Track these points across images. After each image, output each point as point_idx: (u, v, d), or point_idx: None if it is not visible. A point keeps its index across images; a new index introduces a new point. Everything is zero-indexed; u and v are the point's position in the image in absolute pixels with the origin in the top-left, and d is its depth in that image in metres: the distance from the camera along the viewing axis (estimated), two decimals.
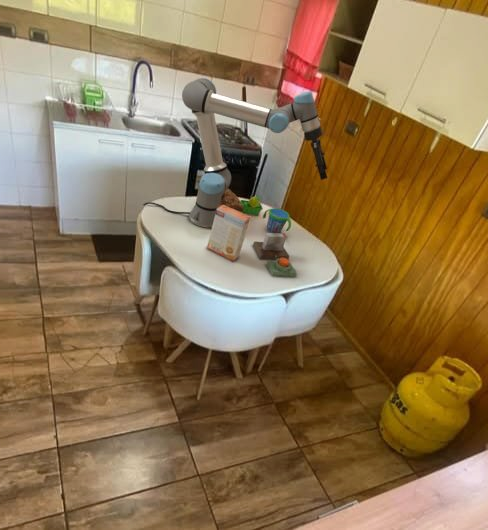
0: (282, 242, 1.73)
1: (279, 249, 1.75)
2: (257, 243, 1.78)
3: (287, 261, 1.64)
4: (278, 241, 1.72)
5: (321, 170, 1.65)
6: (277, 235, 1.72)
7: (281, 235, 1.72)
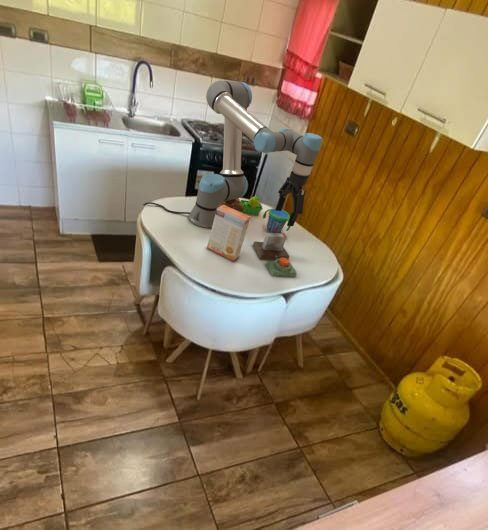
0: (282, 242, 1.73)
1: (279, 249, 1.75)
2: (257, 243, 1.78)
3: (287, 261, 1.64)
4: (278, 241, 1.72)
5: (294, 218, 1.58)
6: (277, 235, 1.72)
7: (281, 235, 1.72)
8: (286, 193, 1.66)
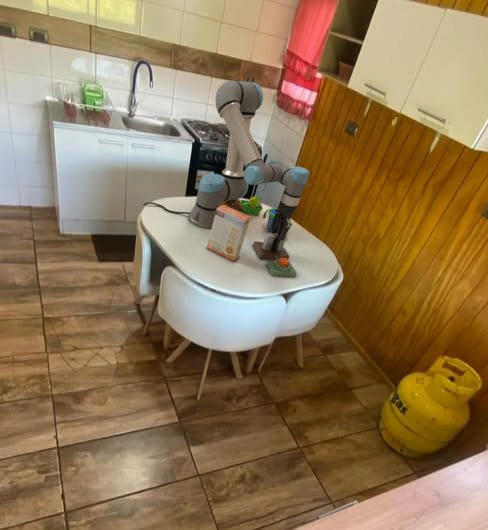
0: (282, 242, 1.73)
1: (279, 249, 1.75)
2: (257, 243, 1.78)
3: (287, 261, 1.64)
4: None
5: (277, 244, 1.71)
6: None
7: None
8: (277, 226, 1.71)
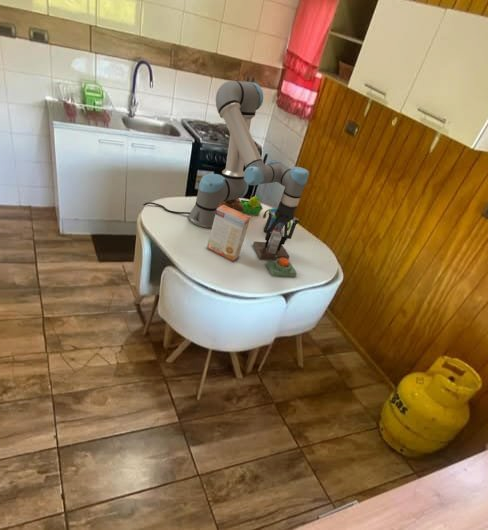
0: None
1: None
2: (257, 243, 1.78)
3: (287, 261, 1.64)
4: None
5: (284, 242, 1.73)
6: (277, 235, 1.72)
7: (276, 232, 1.74)
8: None
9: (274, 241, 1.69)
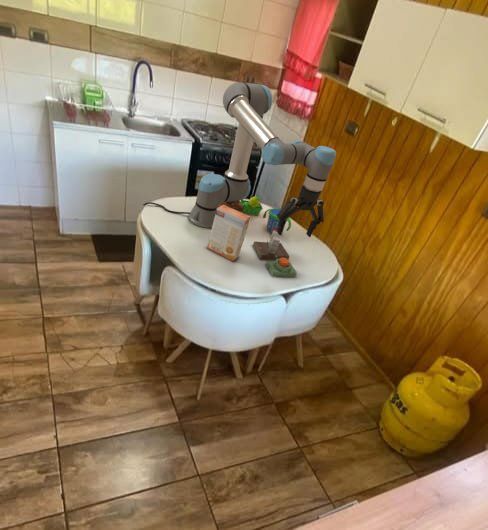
0: None
1: None
2: (257, 243, 1.78)
3: (287, 261, 1.64)
4: None
5: None
6: (277, 235, 1.72)
7: (276, 232, 1.74)
8: None
9: (274, 241, 1.69)
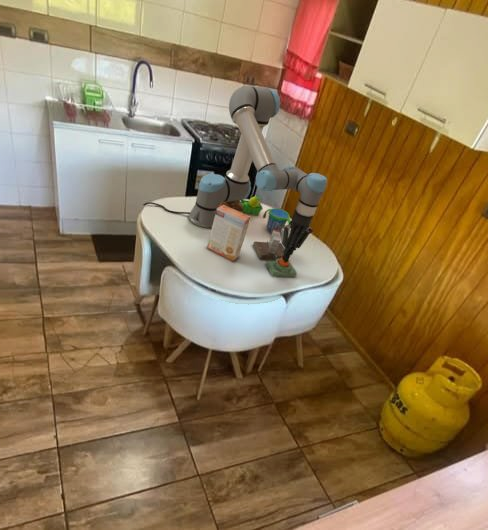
0: None
1: None
2: (257, 243, 1.78)
3: None
4: None
5: None
6: (277, 235, 1.72)
7: (276, 232, 1.74)
8: None
9: (274, 241, 1.69)
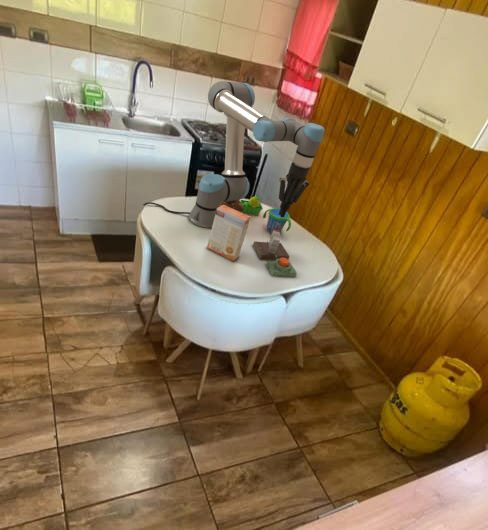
0: None
1: None
2: (257, 243, 1.78)
3: (287, 261, 1.64)
4: None
5: None
6: (277, 235, 1.72)
7: (276, 232, 1.74)
8: None
9: (274, 241, 1.69)
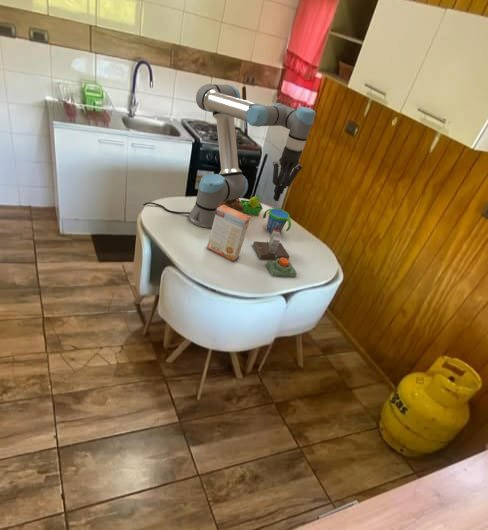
0: None
1: None
2: (257, 243, 1.78)
3: (287, 261, 1.64)
4: None
5: None
6: (277, 235, 1.72)
7: (276, 232, 1.74)
8: None
9: (274, 241, 1.69)
